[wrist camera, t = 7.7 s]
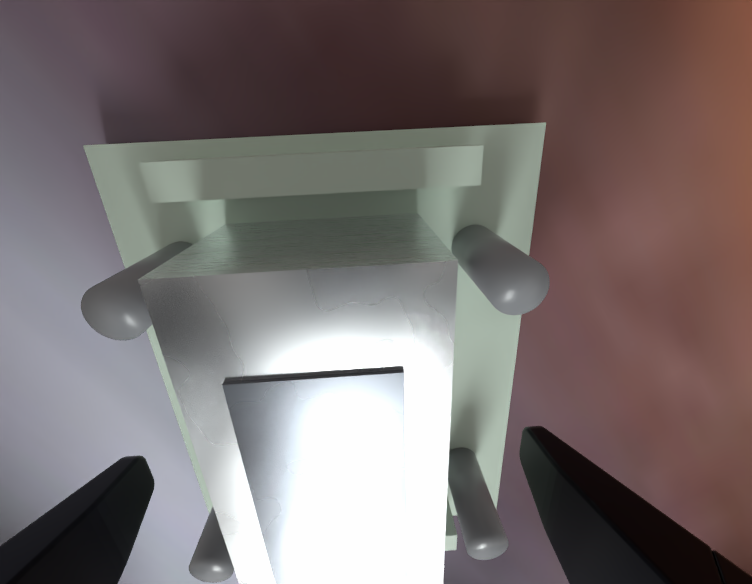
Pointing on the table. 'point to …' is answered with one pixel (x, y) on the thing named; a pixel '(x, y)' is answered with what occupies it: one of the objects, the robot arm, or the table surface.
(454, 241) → the tray
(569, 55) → the table surface
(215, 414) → the block
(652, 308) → the table surface
